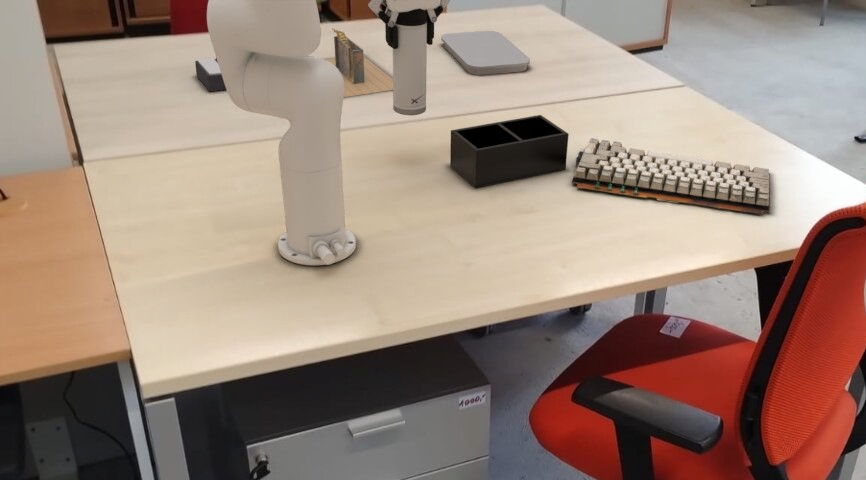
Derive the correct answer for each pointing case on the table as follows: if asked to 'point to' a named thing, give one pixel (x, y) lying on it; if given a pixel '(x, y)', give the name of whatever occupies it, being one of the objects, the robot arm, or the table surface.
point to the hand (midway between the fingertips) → (410, 44)
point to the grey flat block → (485, 52)
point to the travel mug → (410, 63)
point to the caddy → (508, 150)
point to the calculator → (210, 74)
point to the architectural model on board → (357, 69)
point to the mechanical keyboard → (672, 178)
